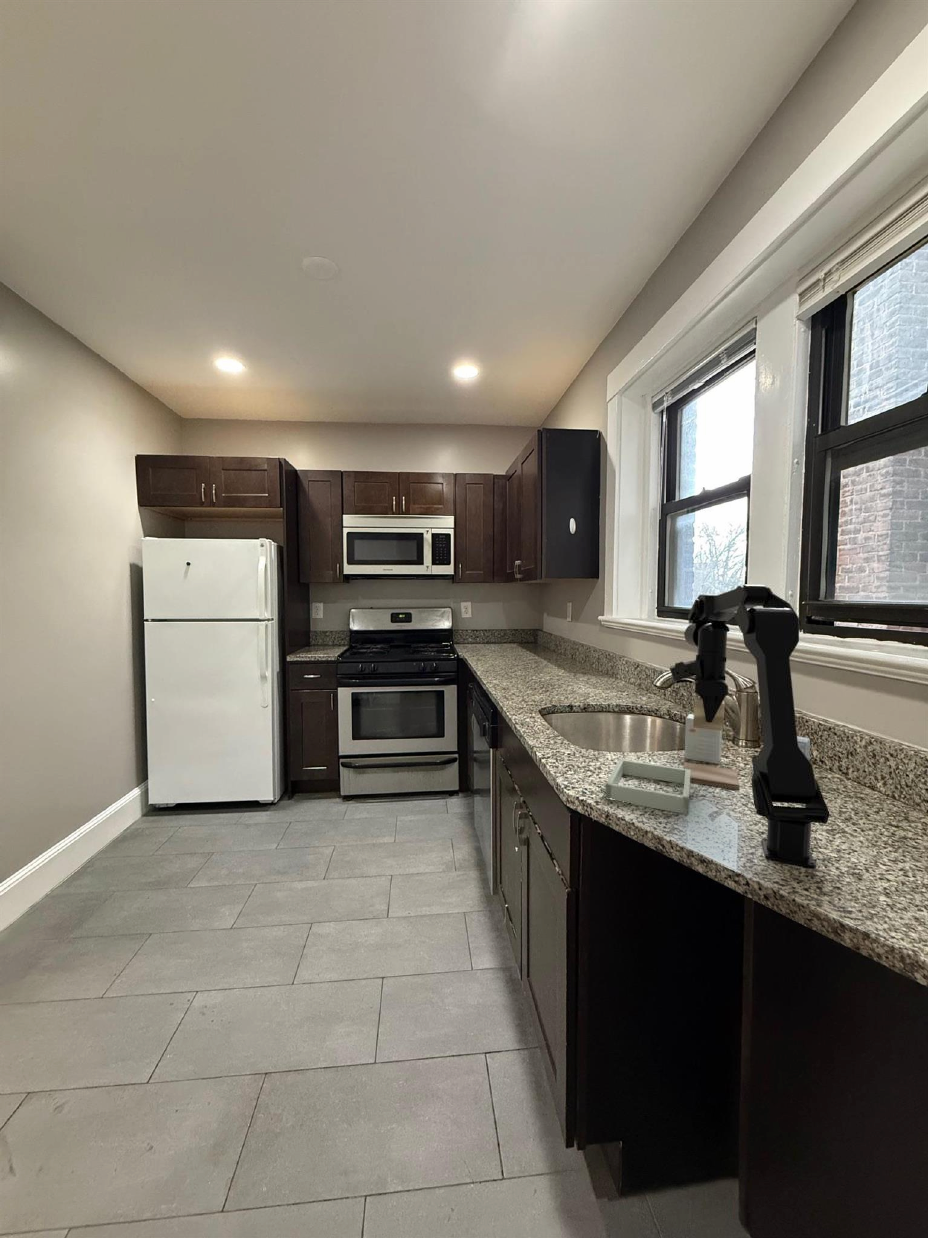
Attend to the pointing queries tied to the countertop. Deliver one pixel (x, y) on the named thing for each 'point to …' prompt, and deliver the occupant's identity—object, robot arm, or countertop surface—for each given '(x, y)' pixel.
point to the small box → (702, 743)
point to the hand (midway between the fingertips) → (708, 720)
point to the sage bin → (649, 796)
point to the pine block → (701, 720)
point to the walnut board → (713, 775)
